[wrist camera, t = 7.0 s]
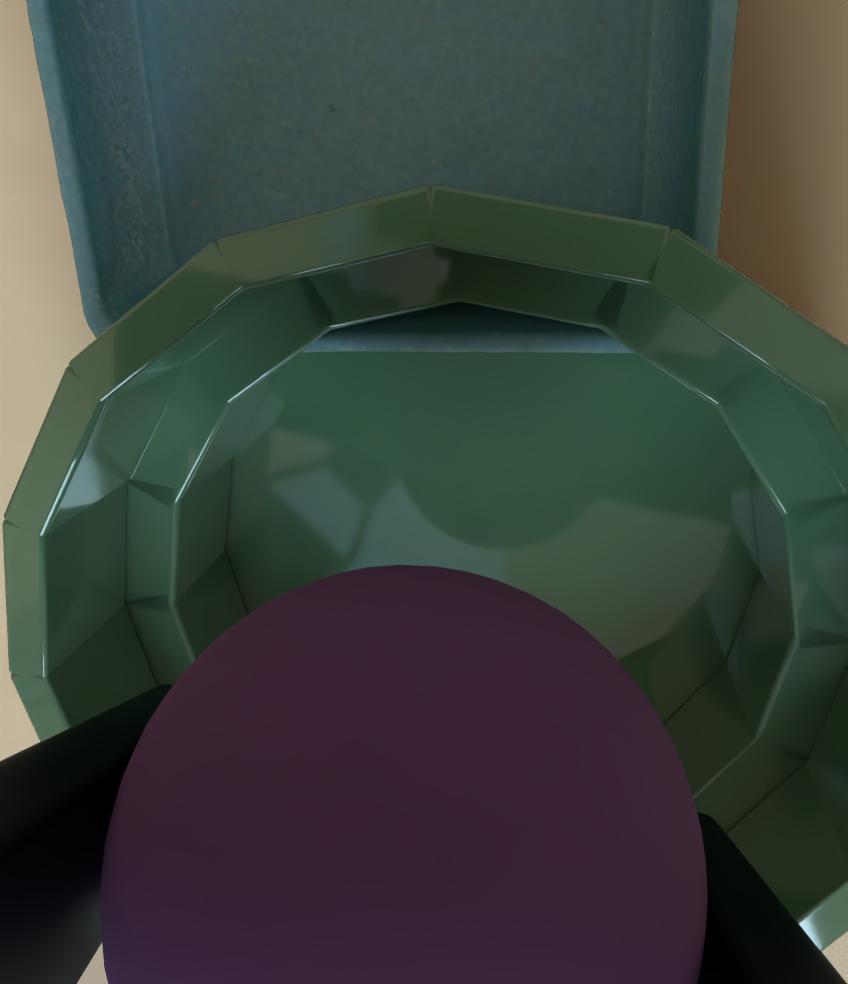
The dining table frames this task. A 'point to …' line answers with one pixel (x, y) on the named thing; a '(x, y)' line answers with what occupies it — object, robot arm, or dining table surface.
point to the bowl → (471, 483)
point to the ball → (404, 802)
